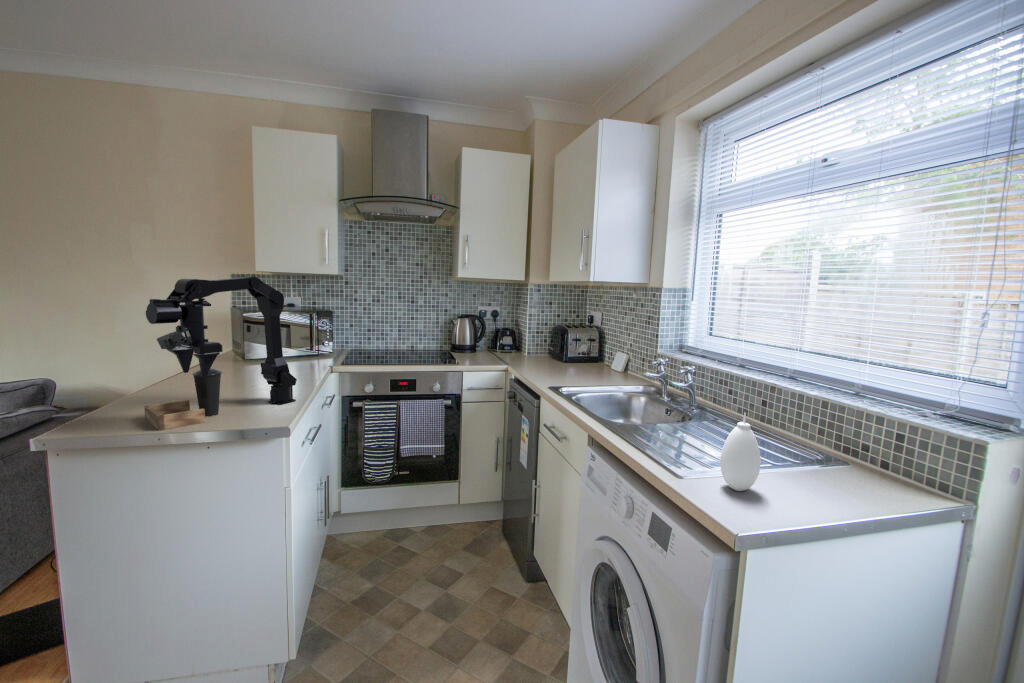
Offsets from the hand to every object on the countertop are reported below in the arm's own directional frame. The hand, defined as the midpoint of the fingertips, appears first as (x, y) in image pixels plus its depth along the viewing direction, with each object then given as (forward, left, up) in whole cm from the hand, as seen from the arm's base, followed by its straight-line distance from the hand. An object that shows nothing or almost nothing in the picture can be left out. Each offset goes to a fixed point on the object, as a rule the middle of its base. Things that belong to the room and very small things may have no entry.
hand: (195, 374), depth 133 cm
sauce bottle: (-33, +146, -15) cm, 151 cm away
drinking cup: (-6, -5, -15) cm, 17 cm away
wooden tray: (+2, -7, -15) cm, 16 cm away
